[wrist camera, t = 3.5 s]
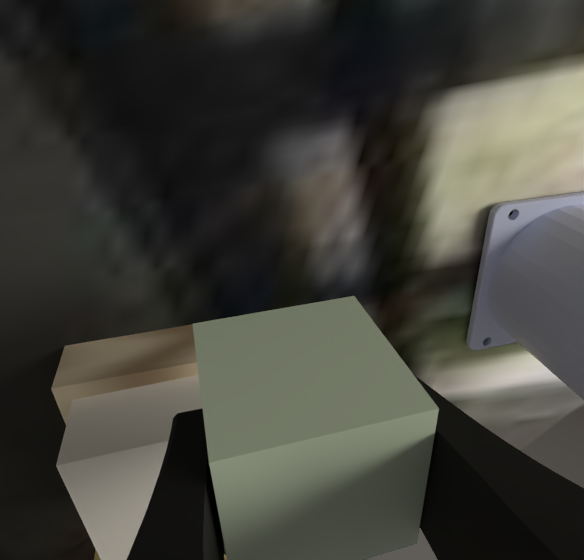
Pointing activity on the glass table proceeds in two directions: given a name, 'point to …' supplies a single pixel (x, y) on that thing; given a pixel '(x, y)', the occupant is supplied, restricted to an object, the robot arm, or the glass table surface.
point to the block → (313, 433)
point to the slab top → (120, 457)
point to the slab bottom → (123, 364)
